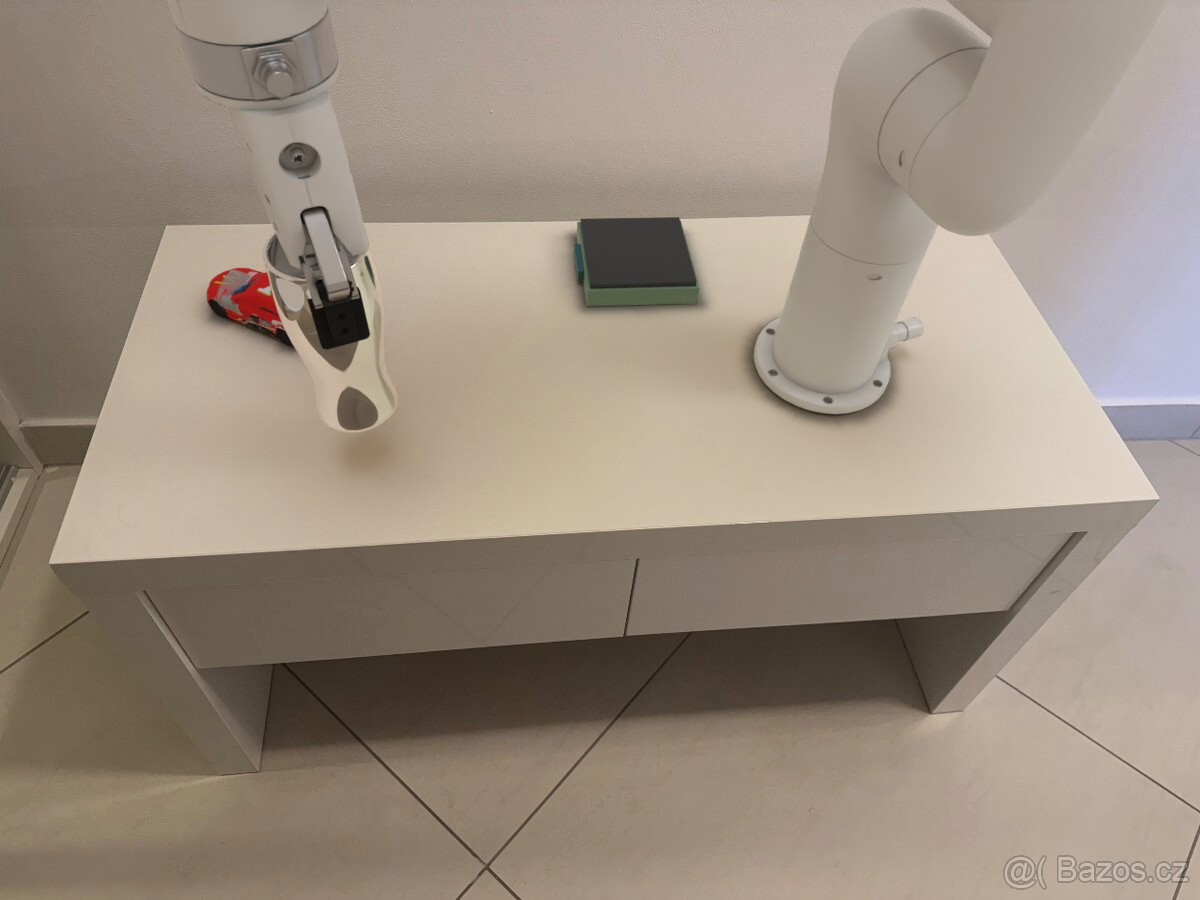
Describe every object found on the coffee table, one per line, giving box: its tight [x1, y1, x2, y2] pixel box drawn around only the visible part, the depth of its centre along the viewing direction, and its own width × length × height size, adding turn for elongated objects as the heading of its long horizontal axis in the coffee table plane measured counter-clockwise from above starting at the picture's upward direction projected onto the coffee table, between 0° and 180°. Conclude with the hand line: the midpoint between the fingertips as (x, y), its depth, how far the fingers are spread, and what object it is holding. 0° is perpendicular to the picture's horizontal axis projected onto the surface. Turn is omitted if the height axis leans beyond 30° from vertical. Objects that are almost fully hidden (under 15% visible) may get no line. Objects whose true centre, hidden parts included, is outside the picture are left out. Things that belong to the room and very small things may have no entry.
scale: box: [573, 216, 700, 307], centre depth 87 cm, size 12×11×3 cm
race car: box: [205, 267, 294, 347], centre depth 79 cm, size 13×5×4 cm, turn 62°
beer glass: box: [262, 231, 398, 434], centre depth 61 cm, size 7×7×15 cm
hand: (330, 303), depth 59 cm, fingers closed on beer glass, 7 cm apart
